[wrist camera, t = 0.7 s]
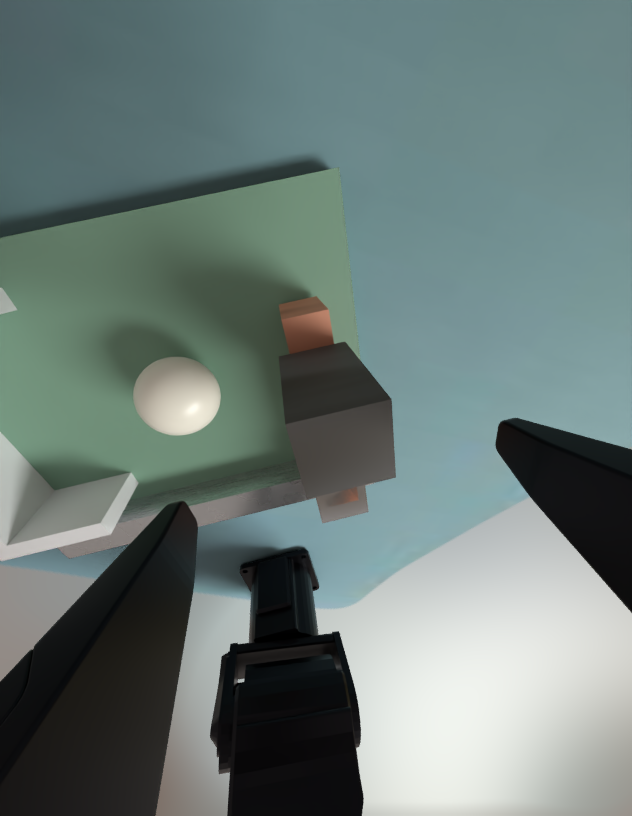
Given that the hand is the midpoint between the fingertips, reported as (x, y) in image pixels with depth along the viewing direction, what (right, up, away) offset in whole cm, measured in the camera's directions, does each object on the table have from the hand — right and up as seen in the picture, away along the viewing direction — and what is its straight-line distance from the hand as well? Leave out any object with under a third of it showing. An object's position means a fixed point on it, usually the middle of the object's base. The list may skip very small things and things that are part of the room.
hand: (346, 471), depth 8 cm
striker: (-1, +2, +10) cm, 10 cm away
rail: (-8, -4, +13) cm, 16 cm away
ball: (-8, +2, +7) cm, 10 cm away
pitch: (-9, +3, +10) cm, 14 cm away
